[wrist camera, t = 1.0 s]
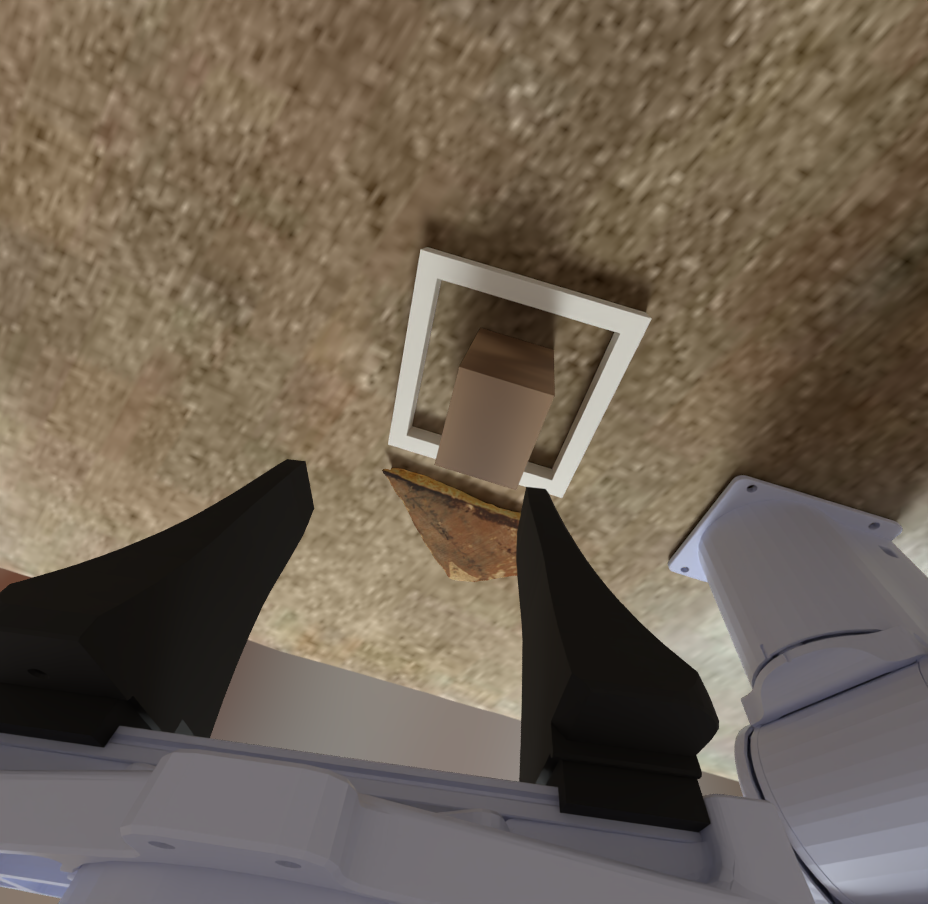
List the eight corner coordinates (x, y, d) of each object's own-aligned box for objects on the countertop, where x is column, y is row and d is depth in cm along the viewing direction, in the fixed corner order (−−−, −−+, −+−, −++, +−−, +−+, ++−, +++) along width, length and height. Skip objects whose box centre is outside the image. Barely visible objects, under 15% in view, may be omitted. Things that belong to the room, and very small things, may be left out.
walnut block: (553, 349, 21) (554, 396, 16) (523, 429, 24) (516, 490, 19) (480, 327, 21) (459, 366, 16) (458, 409, 24) (434, 464, 19)
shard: (389, 458, 27) (379, 473, 26) (495, 427, 25) (491, 442, 23) (452, 569, 32) (448, 587, 31) (547, 553, 30) (547, 572, 28)
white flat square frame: (646, 312, 20) (651, 318, 19) (561, 486, 26) (561, 498, 25) (427, 246, 20) (420, 249, 19) (394, 434, 26) (388, 444, 25)
